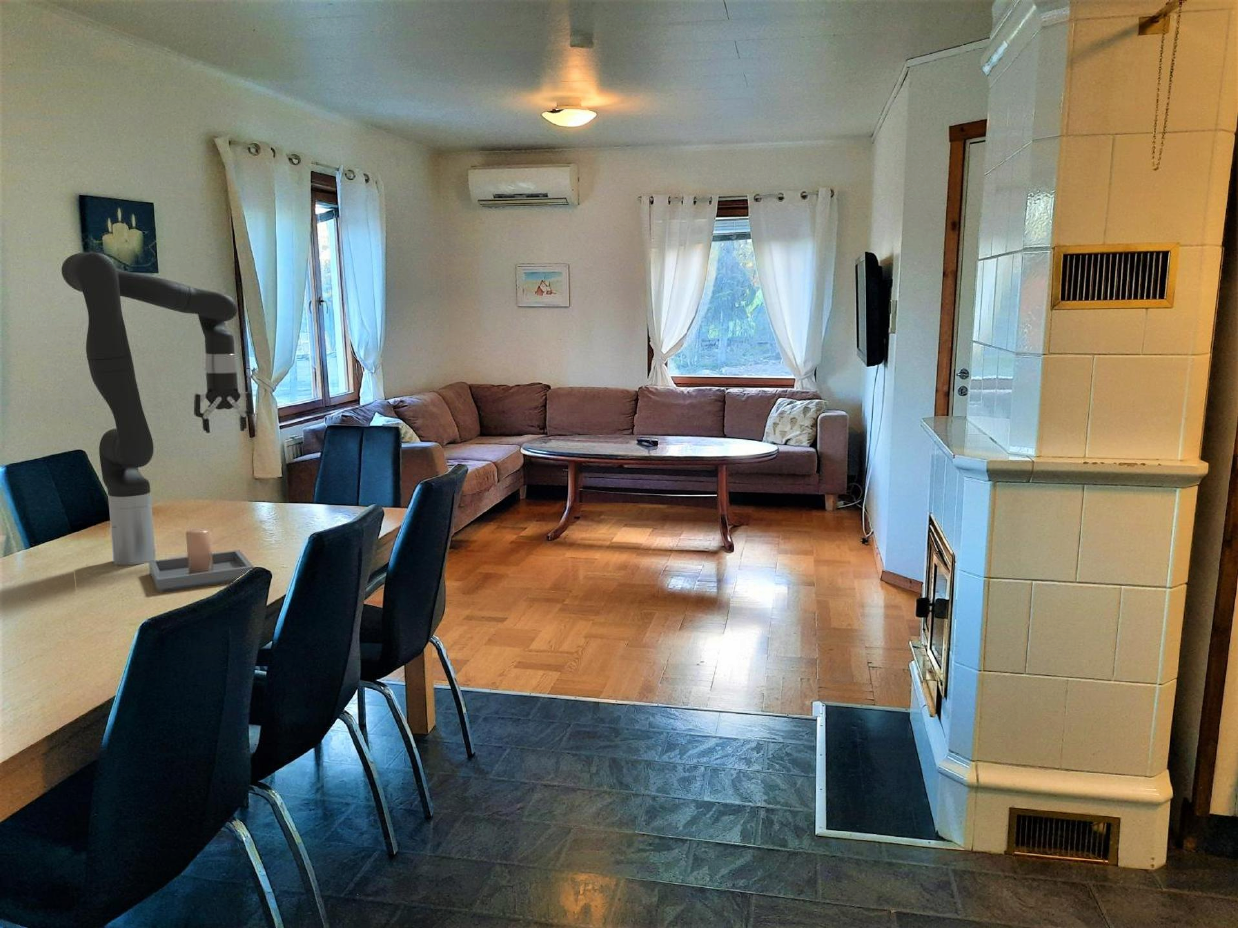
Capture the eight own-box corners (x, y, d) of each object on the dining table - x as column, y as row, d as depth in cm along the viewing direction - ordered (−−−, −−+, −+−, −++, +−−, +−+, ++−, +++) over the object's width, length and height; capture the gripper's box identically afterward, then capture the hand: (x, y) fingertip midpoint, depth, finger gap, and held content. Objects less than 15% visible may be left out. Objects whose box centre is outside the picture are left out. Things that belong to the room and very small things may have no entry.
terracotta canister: (185, 575, 203) (181, 533, 202) (194, 569, 208) (191, 528, 207) (207, 575, 203) (204, 533, 202) (216, 569, 209) (214, 528, 207)
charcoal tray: (158, 592, 193) (157, 579, 193) (150, 573, 208) (149, 561, 208) (254, 579, 204) (253, 566, 203) (240, 561, 219) (239, 549, 218)
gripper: (193, 372, 225) (198, 435, 227) (252, 371, 232) (256, 431, 235) (189, 371, 231) (194, 431, 233) (247, 369, 238) (250, 428, 241)
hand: (225, 431), depth 234 cm, fingers open, 8 cm apart
